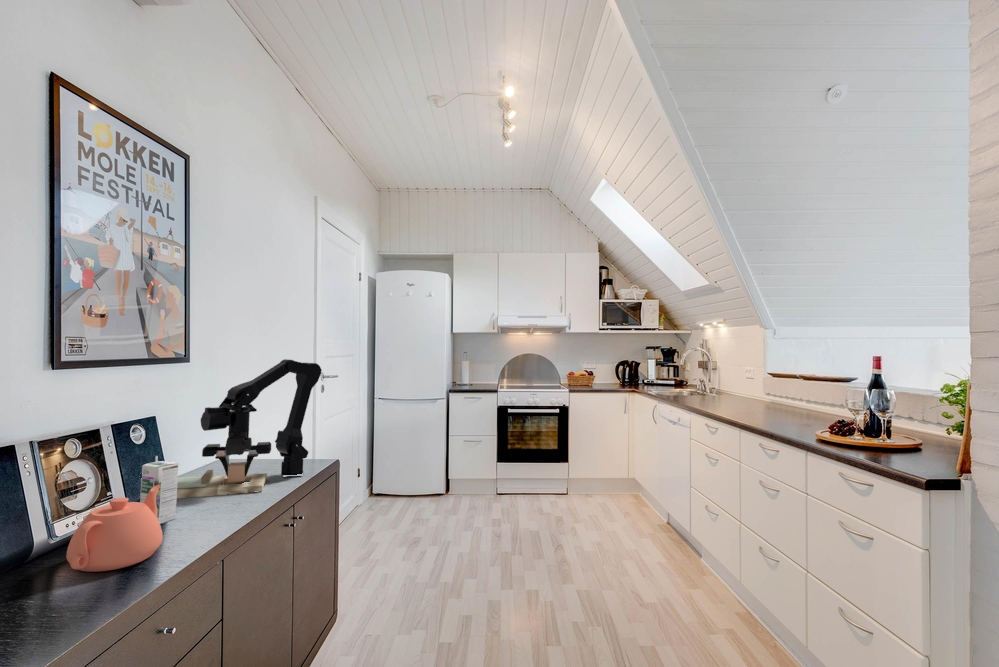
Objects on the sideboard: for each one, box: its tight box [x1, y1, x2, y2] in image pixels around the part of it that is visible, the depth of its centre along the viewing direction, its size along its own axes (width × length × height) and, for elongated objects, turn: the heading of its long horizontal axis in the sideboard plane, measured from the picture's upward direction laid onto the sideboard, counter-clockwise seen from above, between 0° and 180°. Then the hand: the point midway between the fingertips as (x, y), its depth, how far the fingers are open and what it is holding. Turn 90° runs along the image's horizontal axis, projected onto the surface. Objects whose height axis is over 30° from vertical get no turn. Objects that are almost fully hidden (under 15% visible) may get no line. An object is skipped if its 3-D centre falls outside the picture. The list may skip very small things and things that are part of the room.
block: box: [228, 461, 247, 482], centre depth 153 cm, size 4×4×5 cm
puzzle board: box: [177, 472, 268, 499], centre depth 152 cm, size 24×15×2 cm, turn 111°
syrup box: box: [139, 460, 180, 525], centre depth 123 cm, size 6×6×14 cm
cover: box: [177, 469, 214, 488], centre depth 149 cm, size 11×11×3 cm
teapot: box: [66, 485, 163, 573], centre depth 102 cm, size 22×16×12 cm
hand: (236, 476), depth 153 cm, fingers closed on block, 4 cm apart
